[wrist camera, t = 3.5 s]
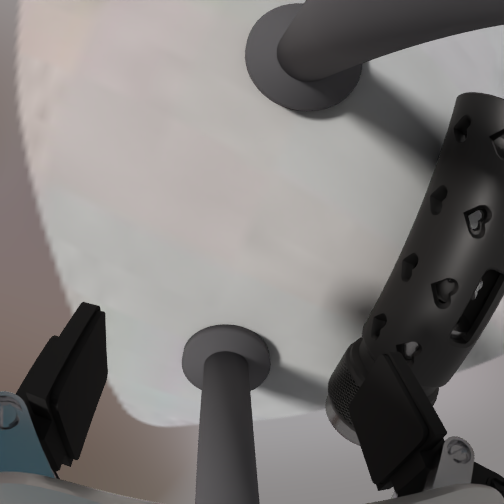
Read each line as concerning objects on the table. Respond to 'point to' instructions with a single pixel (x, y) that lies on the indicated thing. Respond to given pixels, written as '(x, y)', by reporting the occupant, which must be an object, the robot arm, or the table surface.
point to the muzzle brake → (439, 266)
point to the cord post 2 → (347, 42)
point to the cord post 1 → (226, 410)
